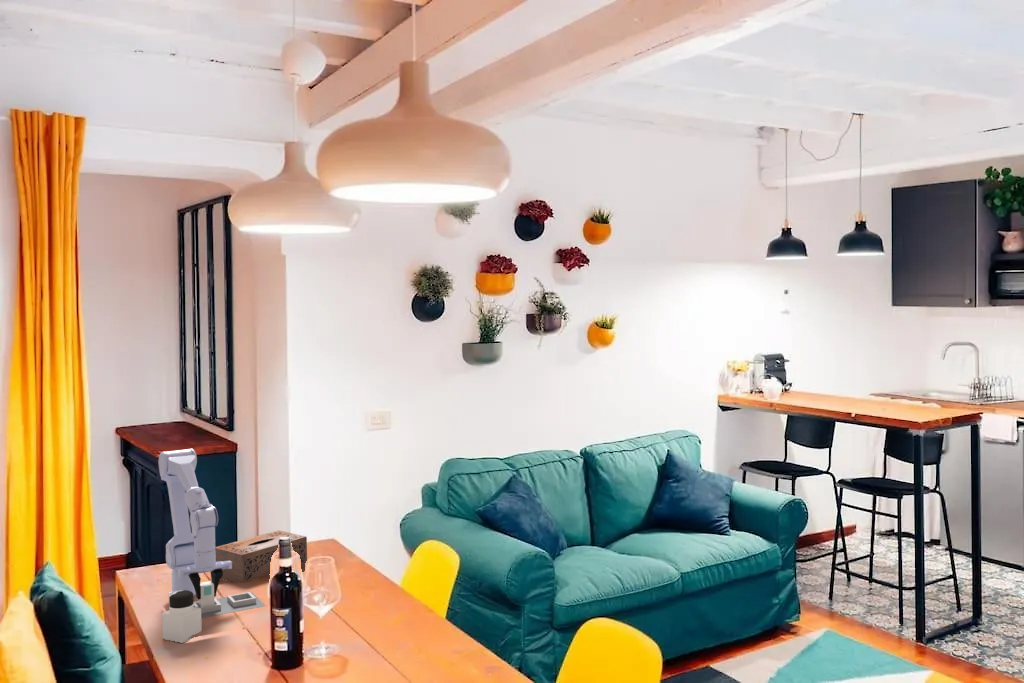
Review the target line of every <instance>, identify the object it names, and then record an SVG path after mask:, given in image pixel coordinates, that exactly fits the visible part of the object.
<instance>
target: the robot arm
mask: <svg viewBox="0 0 1024 683" xmlns="http://www.w3.org/2000/svg"><path fill="white" fill-rule="evenodd" d="M197 456H198V455H197V452H196V450H194V449H193V448H191V447H190V448H187V449H178V450H169V451H161V452H160V454H159V456H158V460H157V462H158V470H159V475H160V480H161V481H165V482H166V486H167V490H168V497H169V505H170V513H171V514H170V515H171V521H172V526H173V536H172V538H171V539H170V540H168V542H167V543H166V544H165V562H166V564H167V568H169V569H170V570H171V591H169V592H168V594H172V593H174V592H176V591H180V590H188V591H191V592H192V593H193V597H194V596H196V599H197V600H199V599H201V593H200V583H201V579H202V578H201V576H200V574H203V573H210V581H211V582H212V583H213V584H214V598H216V597H217V592H218V591H217V590H218V587H219V584H220V581H221V580H222V579H221V578H222V576H223V571H222V569H232V562H231V561H220V562H216V551H215V547H216V527H217V526H218V523H219V514H218V510H217V508H216V507H215V506H213V504H212V503H210V500H209V499H208V496H207V493H206V492H205V489H204V488H202V487H199V482H198V480H197V476H196V472H195V471H196V468H197V463H198V457H197ZM189 513H190V516H189Z"/></svg>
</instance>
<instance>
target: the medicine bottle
mask: <svg viewBox="0 0 1024 683" xmlns="http://www.w3.org/2000/svg"><path fill="white" fill-rule="evenodd" d="M193 602H194V596H193V593H192V592H191V591H188V590H180V591H176V592H174V593H169V596H168V610H166V611H164V612H162V613H161V628H162V629H161V631H162V634H161V635H162V640H164V639H165V641H169V640H170V641H169V642H173V641H175V643H178V642H179V643H178V644H184V643H186V642H188V641H191V640H192V638H193V639H195V638H197V637H196V636H197V635H196V634H199V633H201V632H202V631H203V630H202V618H201V609H200V608H196V607H193V606H194V603H193ZM194 635H196V636H194ZM194 637H195V638H194ZM190 639H191V640H190ZM183 642H184V643H183Z"/></svg>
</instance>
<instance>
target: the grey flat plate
mask: <svg viewBox="0 0 1024 683" xmlns="http://www.w3.org/2000/svg"><path fill="white" fill-rule="evenodd" d="M193 603H194V606H193V607H196V608H200V609H201V619H203V618H204V619H205V618H209V617H214V616H220V615H225V614H230V613H234V612H235V613H236V612H241V611H245V610H250V609H256V608H261V607H266V606H267V605H266V604H265V603H264V602H263V601H262V600H261V599H260V598H259V597H257V595H256V594H254V592H252V591H248V592H242V593H236V594H230V595H226V596H224V597H218V598H216V597H214V603H215V605H210V606H205V607H201V606H200V605H199V602H198V601H193Z"/></svg>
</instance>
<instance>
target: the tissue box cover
mask: <svg viewBox="0 0 1024 683" xmlns="http://www.w3.org/2000/svg"><path fill="white" fill-rule="evenodd" d="M280 537H289V538H290V539H291V543H292V547H293V550H294V551H295V552H297V553H298V554H299V555H300V559H301V568H304V567H306V566H305V563H306V561H307V562H308V544H307V543H308V538H307V536H305V535H301V534H297V533H293V532H292V533H291V532H287V531H283V530H275V531H270V532H267V533H264V534H260V535H256V536H253V537H249V538H244V539H241V540H237V541H233V542H229V543H227V544H222V545H219V546H215V551H216V562H220V561H231V562H232V569H222V571H223V576H222V578H221V580H222V579H224V580H223V581H225V580H227V581H226V582H229V581H230V582H229V583H237V582H239V583H246V582H249V581H252V580H256V579H261V578H265V577H270V576H269V574H270V562H271V557H272V555H273V553H274V552H275V551H276V550H277V548H278V540H279V538H280Z"/></svg>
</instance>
